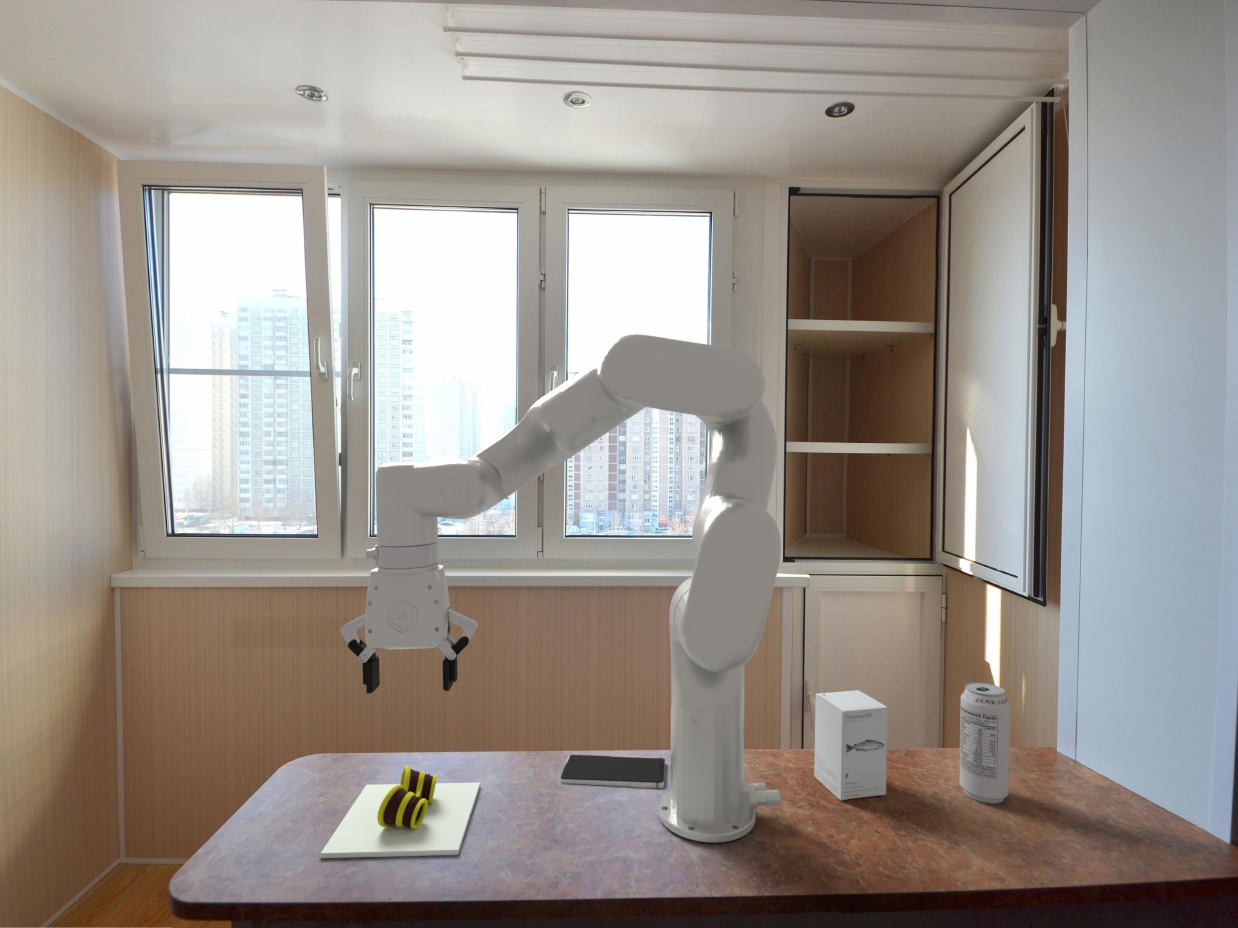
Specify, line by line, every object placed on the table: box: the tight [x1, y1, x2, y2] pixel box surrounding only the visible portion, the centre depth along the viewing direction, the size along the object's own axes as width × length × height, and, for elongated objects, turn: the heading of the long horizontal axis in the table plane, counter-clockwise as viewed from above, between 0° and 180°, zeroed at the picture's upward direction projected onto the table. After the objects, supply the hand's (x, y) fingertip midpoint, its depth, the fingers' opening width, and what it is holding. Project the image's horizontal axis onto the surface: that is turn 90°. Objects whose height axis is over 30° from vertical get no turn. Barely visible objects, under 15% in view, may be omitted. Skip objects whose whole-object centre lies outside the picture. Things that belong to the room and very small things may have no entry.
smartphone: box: [560, 754, 666, 789], centre depth 98 cm, size 8×1×15 cm
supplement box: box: [813, 689, 888, 801], centre depth 94 cm, size 7×7×13 cm
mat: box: [320, 781, 481, 859], centre depth 86 cm, size 16×16×1 cm
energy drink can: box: [959, 681, 1011, 804], centre depth 92 cm, size 6×6×15 cm
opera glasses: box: [377, 764, 438, 829], centre depth 86 cm, size 10×5×5 cm, turn 0°
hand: (410, 688), depth 85 cm, fingers open, 9 cm apart
